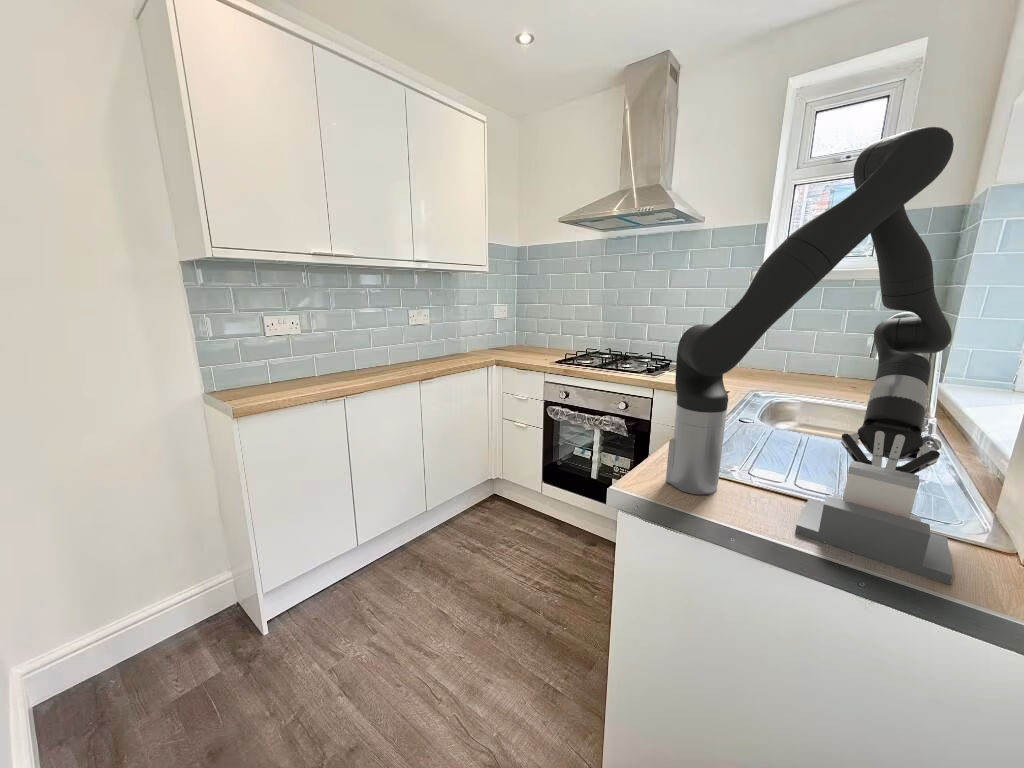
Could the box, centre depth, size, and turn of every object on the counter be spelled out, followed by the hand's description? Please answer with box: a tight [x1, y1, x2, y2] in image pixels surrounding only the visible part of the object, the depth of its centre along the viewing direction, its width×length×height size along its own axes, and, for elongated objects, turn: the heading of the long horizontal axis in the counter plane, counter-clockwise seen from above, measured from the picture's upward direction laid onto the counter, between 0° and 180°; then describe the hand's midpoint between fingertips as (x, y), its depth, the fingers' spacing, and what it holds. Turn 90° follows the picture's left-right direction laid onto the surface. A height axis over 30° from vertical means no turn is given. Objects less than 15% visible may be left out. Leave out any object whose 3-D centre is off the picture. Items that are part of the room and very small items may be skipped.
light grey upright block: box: [842, 460, 920, 519], centre depth 65 cm, size 8×3×10 cm, turn 46°
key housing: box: [794, 493, 954, 586], centre depth 66 cm, size 18×12×6 cm, turn 46°
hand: (877, 493), depth 67 cm, fingers closed
